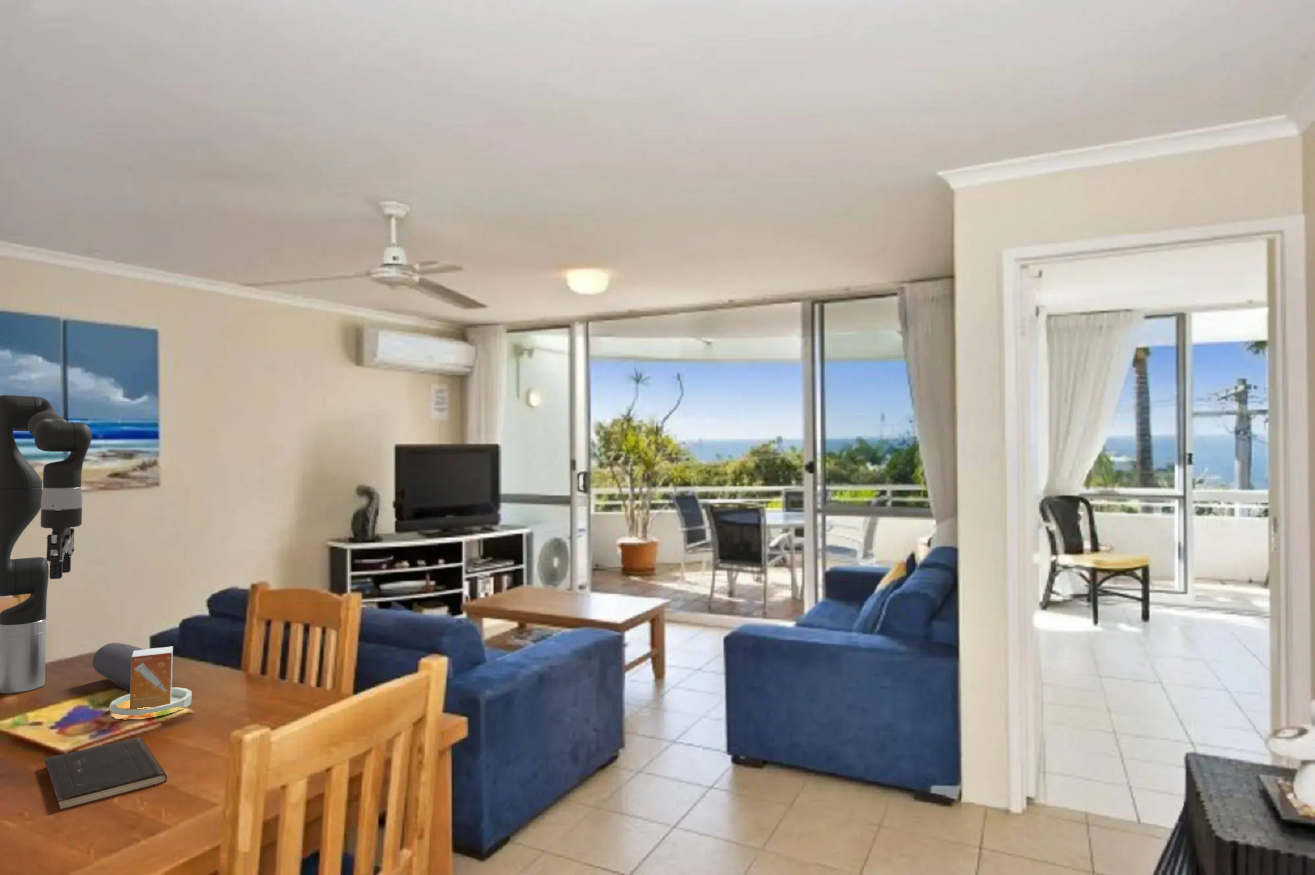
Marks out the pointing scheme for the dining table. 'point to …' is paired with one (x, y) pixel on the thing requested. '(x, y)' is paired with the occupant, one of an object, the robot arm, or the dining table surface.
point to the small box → (151, 677)
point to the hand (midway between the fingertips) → (60, 575)
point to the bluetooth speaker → (115, 663)
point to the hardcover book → (103, 771)
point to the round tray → (178, 699)
